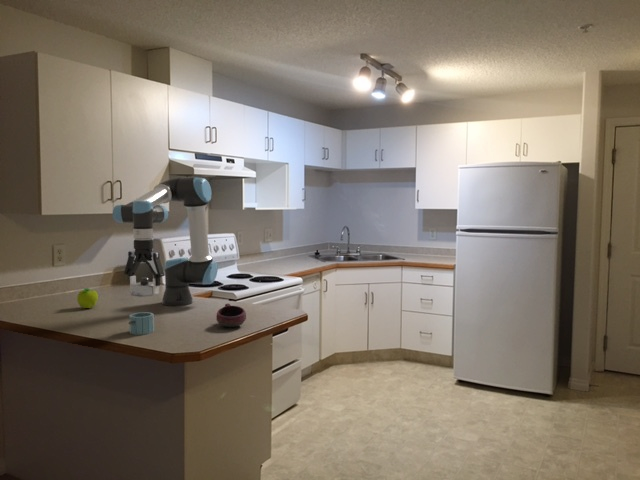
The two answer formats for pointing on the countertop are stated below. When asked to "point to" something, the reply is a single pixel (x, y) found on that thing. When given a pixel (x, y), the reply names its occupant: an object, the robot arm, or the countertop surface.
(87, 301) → the fruit
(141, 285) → the lid
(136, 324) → the pot
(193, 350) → the countertop surface
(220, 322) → the bowl
